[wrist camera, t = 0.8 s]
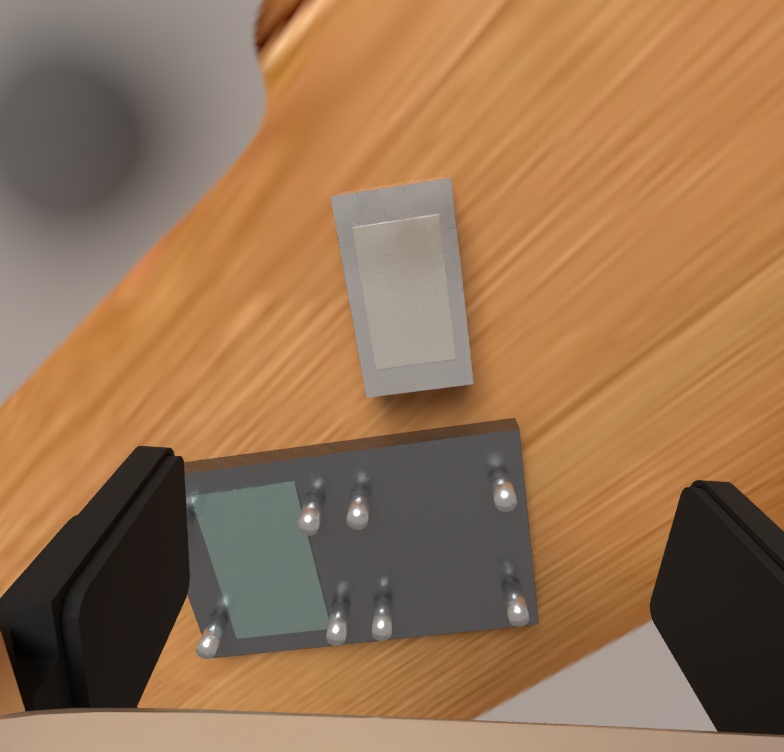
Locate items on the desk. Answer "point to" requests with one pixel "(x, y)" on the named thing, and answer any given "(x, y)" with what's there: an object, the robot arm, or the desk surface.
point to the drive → (405, 285)
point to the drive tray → (360, 541)
